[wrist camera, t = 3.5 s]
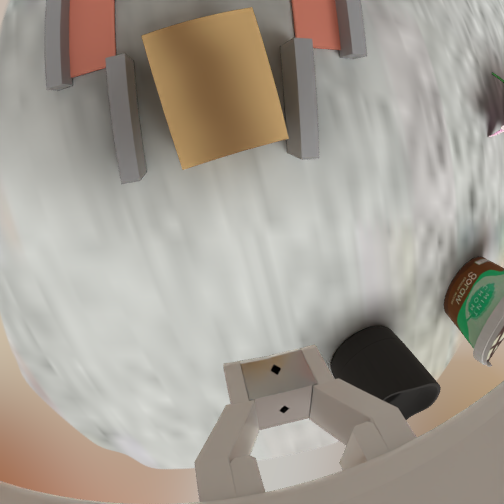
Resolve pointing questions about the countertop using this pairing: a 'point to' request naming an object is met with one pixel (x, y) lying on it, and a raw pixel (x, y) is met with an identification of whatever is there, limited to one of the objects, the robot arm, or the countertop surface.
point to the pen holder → (385, 370)
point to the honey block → (215, 86)
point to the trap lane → (123, 75)
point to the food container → (478, 306)
